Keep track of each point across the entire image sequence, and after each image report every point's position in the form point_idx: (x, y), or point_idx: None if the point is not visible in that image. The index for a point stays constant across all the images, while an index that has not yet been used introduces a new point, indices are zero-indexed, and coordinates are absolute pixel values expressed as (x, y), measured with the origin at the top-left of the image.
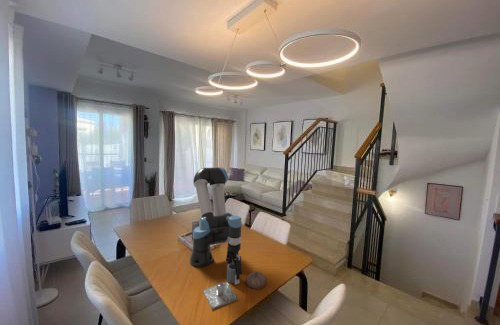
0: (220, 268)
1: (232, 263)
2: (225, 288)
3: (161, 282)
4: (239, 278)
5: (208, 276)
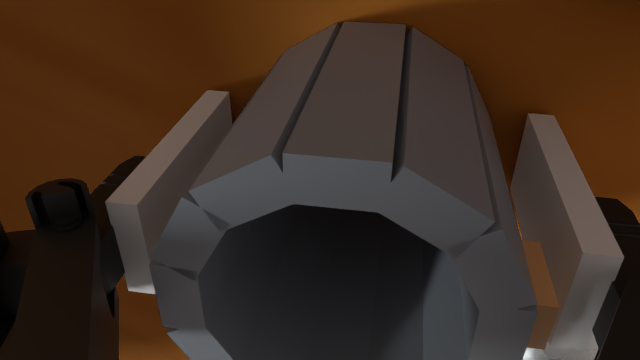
0: (37, 174)
1: (199, 281)
2: (531, 349)
3: None
4: (631, 211)
5: (171, 349)
